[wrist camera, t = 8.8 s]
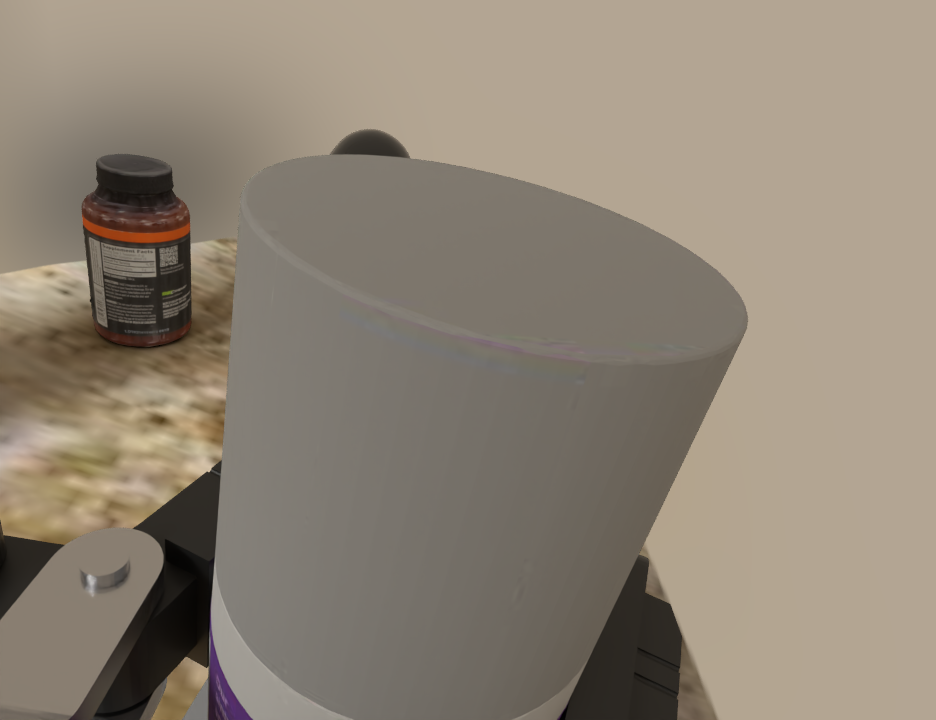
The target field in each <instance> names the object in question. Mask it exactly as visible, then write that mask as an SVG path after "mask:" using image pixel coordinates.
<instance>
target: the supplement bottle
mask: <svg viewBox="0 0 936 720" xmlns="http://www.w3.org/2000/svg"><path fill="white" fill-rule="evenodd" d="M96 167H97V178H96V179H97V182H98V183H99V185H98V187H97V189H96V190H95V191H94V192H92V193H91V194H89V195H88V196H87V197H86V198H85V199H84V201H83V203H82V217H83V229H84V235H85V247H86V257H87V267H88V276H89V285H90V296H91V299H90V302H91V306H92V316H93V319H94V325H95V329H96V331H97V332H98V333H99V334H100V335H101V336H103V337H104V338H106V339H108V340H110V341H112V342H115V343H118V344H121V345H128V346H138V347H152V346H157V345H161V344H166V343H170V342H172V341H174V340H177V339H179V338H180V337H182V336H184V335H185V334H186V333H187V332H188V330H189V329H190V326H191V258H190V257H191V254H190V215H189V210H188V208H187V206H186V204H185V203H184V202H183V201H182V200H180V199H179V198H178V197H176V195H175V194H174V192H173V191H172V188H173V186H174V185H173V181H172V168H171V167H170V165H168V164H167V163H165V162H163V161H161V160H158V159H154V158H150V157H145V156H139V155H130V154H115V155H107V156H103V157H101V158H99V159H98V160H97V162H96Z"/></svg>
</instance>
